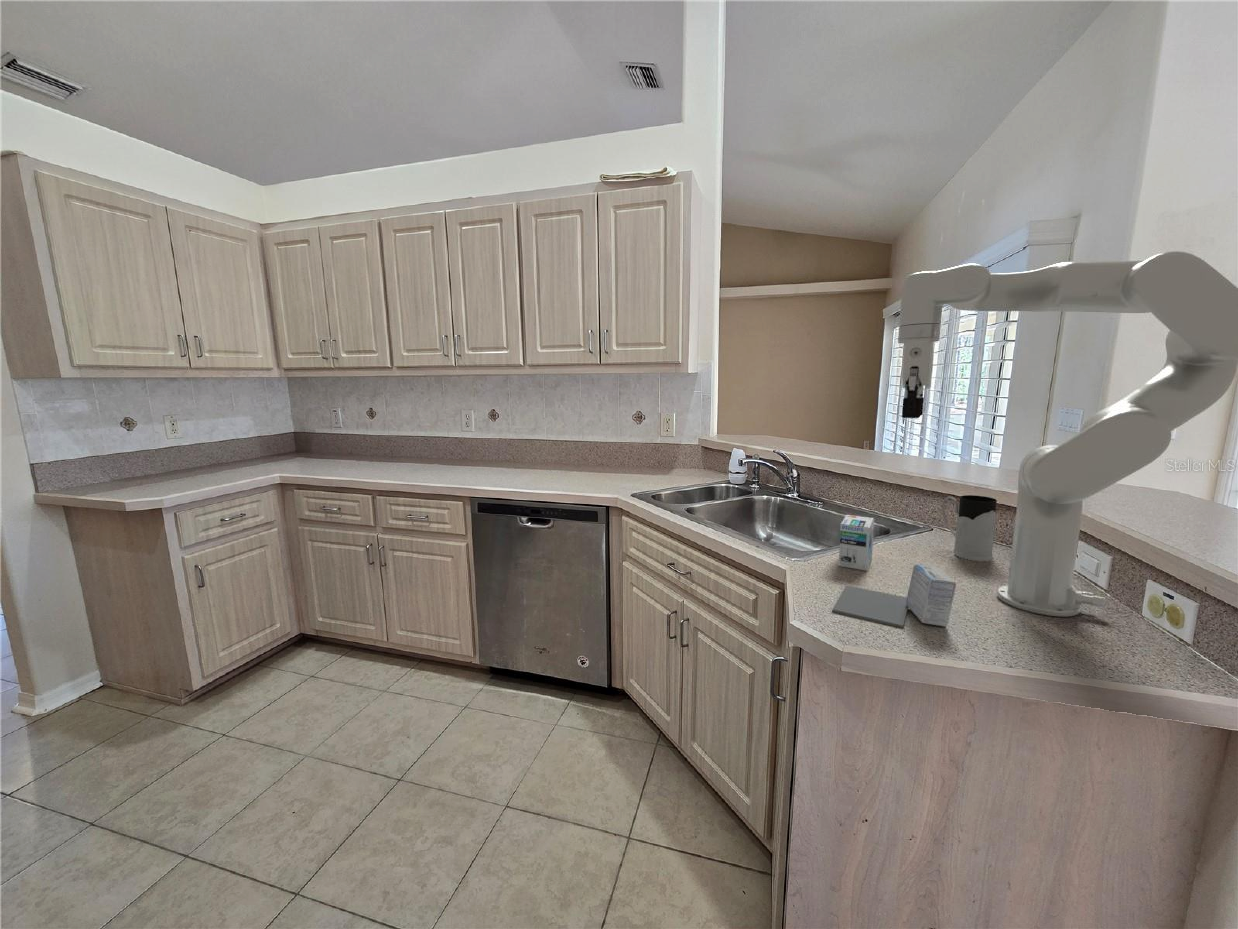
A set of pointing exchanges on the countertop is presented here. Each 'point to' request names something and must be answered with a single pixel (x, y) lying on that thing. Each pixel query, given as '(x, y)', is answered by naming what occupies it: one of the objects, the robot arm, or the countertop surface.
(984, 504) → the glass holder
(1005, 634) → the countertop surface
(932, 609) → the medicine box
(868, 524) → the light bulb box
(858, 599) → the mat
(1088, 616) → the countertop surface
